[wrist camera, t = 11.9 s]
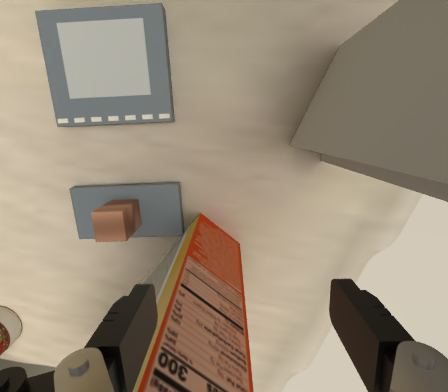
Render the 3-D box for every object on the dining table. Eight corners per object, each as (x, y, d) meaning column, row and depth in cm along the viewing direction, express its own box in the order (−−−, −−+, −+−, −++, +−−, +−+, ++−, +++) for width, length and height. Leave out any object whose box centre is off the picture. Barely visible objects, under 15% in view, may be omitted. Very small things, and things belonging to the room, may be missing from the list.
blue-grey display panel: (44, 16, 34) (34, 10, 32) (164, 9, 34) (161, 2, 32) (65, 126, 37) (56, 126, 36) (174, 121, 37) (171, 121, 35)
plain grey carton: (322, 161, 38) (628, 261, 9) (289, 145, 38) (496, 196, 8) (375, 64, 35) (1135, -280, 6) (339, 46, 34) (964, -434, 5)
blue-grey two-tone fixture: (75, 186, 39) (40, 198, 32) (179, 182, 39) (168, 193, 32) (84, 235, 41) (53, 257, 34) (184, 231, 41) (174, 253, 34)
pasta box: (155, 334, 46) (28, 684, 17) (118, 309, 45) (-87, 637, 16) (239, 243, 41) (264, 509, 12) (200, 212, 40) (125, 425, 11)
